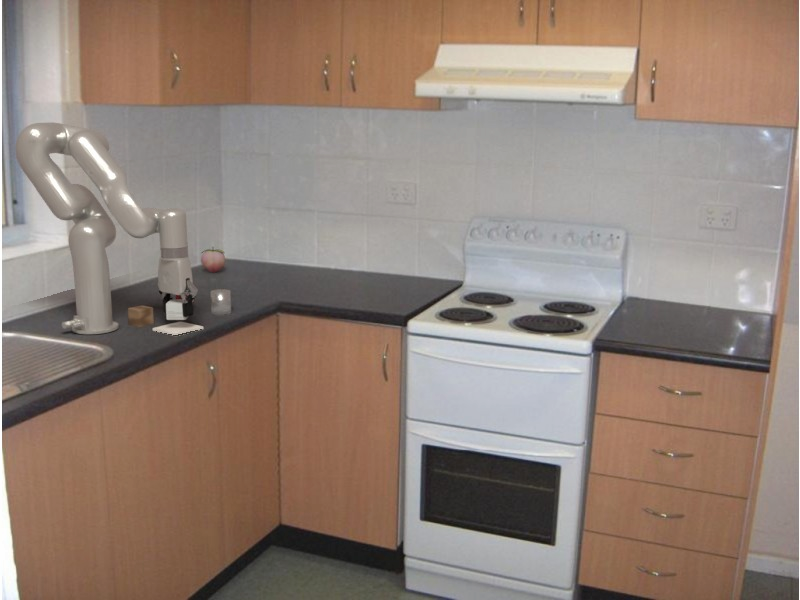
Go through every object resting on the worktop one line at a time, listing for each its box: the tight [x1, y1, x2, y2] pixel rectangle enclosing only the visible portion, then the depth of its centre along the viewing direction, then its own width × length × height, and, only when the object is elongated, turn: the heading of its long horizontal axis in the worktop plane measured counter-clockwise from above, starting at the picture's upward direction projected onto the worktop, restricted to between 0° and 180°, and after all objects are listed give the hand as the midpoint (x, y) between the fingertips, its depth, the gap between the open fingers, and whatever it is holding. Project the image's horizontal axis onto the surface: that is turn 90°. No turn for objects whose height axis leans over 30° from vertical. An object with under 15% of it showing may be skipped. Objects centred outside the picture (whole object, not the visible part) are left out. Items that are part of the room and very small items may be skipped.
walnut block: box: [127, 305, 155, 328], centre depth 257 cm, size 5×5×5 cm
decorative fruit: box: [200, 246, 226, 273], centre depth 337 cm, size 9×8×10 cm
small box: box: [165, 298, 189, 321], centre depth 250 cm, size 6×6×5 cm
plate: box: [152, 320, 204, 336], centre depth 251 cm, size 10×10×1 cm
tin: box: [210, 288, 232, 316], centre depth 271 cm, size 6×6×7 cm
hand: (178, 313), depth 250 cm, fingers closed on small box, 7 cm apart
